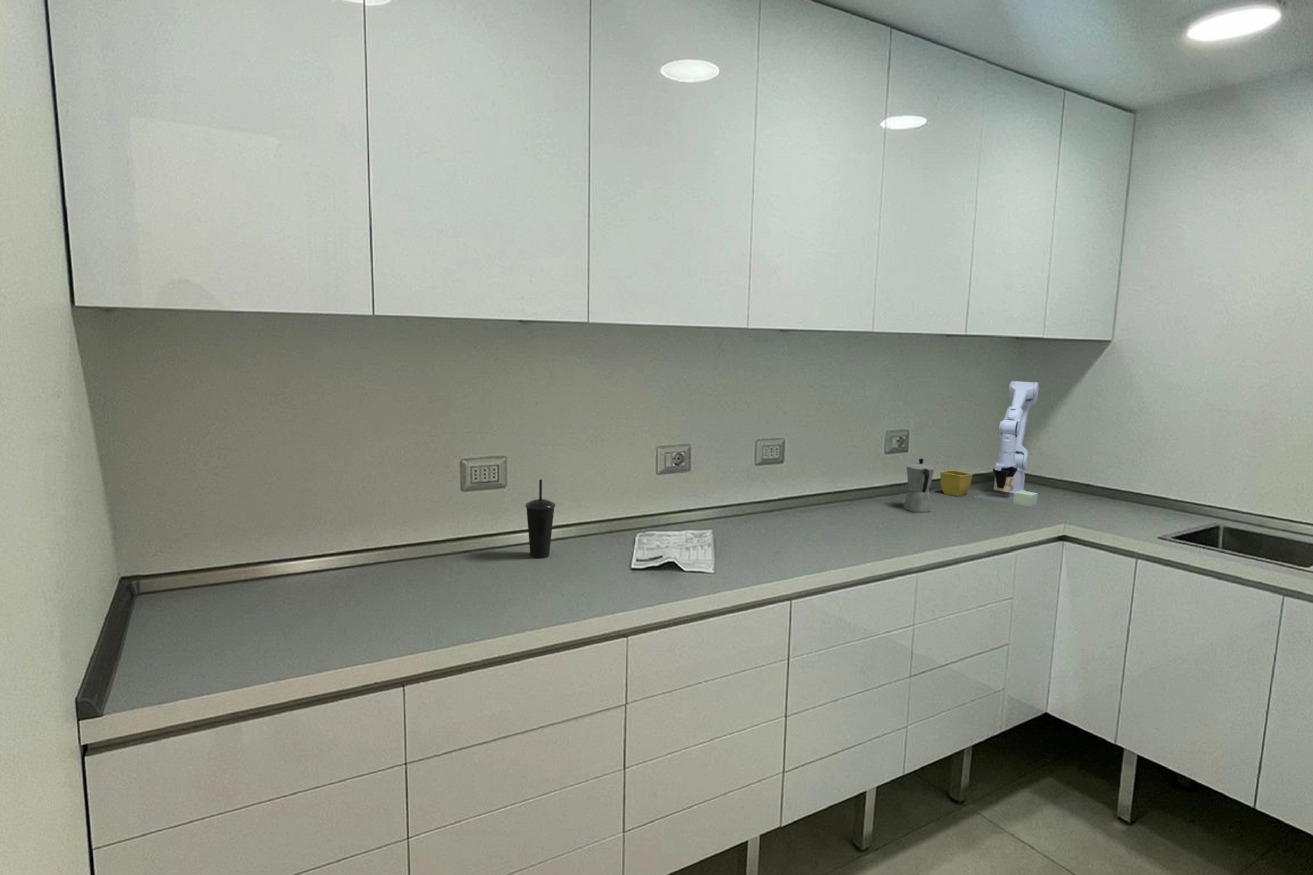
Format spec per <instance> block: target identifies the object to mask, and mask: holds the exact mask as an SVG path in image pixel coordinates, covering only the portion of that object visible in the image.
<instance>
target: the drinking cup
mask: <svg viewBox="0 0 1313 875" xmlns="http://www.w3.org/2000/svg"><path fill="white" fill-rule="evenodd" d="M538 482H539V483H538V484H539V485H538V486H539V487H538V488H539V490H538V495H539V496H538V498H536V499H532V500H530V501H528V502H526V503H524V504H525V505H524V506H525V507H526V520H527V529H528V541H529V542H528V544H529V553H530V554H529V555H530V557H531V556H532V557H531V558H533V557H534V558H533V559H545V557H546V558H548V557H549V556H550V550H551V541H552V533H553V532H552V531H553V523H554V514H555V508H556V503H555V502H553V501H551V500H549V499H545V498H543V479H539V480H538ZM547 556H548V557H547Z"/></svg>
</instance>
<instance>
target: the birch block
mask: <svg viewBox="0 0 1313 875" xmlns="http://www.w3.org/2000/svg"><path fill="white" fill-rule="evenodd" d="M993 483H994V484H993V490H994V491H1000V492H1005V493H1010V492H1009V491H1012V490H1013V483H1014V477H1008V476H1007V478H1006V482H1005V486H1004V488H1003V489H1002V488H997V483H996V477H995V476H994V481H993Z"/></svg>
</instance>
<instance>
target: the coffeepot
mask: <svg viewBox="0 0 1313 875" xmlns="http://www.w3.org/2000/svg"><path fill="white" fill-rule="evenodd" d="M918 461H919V463H914V464H913V463H912V464H907V466H906V475H907V476H906V477H907V485H908V490H907V492H906V497H905V500H904V504H903V509H904V510H906V511H909V512H912V511H913V513H929V512H931V510H932V508H931V496H930V487H931V485H932V479H933V476H934V473H935V472H934V471H935V469H936V467H934V466H931V465H928V464H924V459H923V458H919V459H918Z"/></svg>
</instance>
